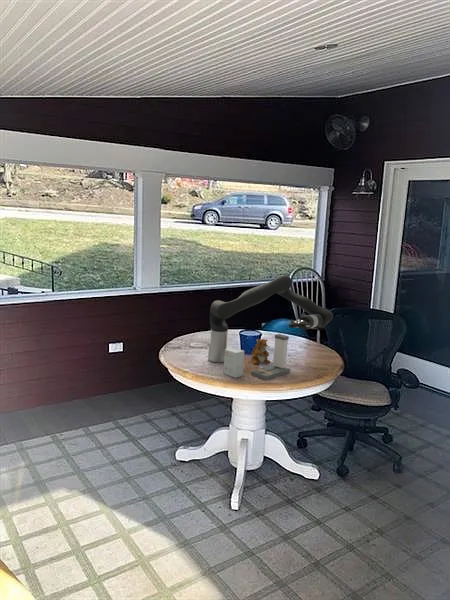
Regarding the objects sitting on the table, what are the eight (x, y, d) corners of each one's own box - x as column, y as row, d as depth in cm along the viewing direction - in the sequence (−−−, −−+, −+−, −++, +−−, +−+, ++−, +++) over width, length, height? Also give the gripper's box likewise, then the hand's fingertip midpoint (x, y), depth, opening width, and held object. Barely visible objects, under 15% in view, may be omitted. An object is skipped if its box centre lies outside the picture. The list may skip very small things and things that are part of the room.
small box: (243, 375, 252) (244, 350, 250) (234, 378, 247) (236, 353, 245) (231, 371, 257) (233, 347, 255) (223, 373, 253) (224, 349, 250)
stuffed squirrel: (254, 365, 270) (256, 341, 268) (246, 357, 284) (248, 335, 281) (271, 364, 273) (273, 341, 271) (262, 356, 286) (264, 334, 284)
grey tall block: (276, 364, 266) (278, 333, 263) (286, 367, 261) (288, 336, 258) (272, 365, 263) (274, 334, 260) (282, 368, 259) (284, 337, 256)
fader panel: (274, 367, 268) (275, 363, 268) (289, 372, 262) (290, 368, 261) (250, 374, 254) (251, 370, 253) (266, 380, 247) (266, 376, 247)
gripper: (299, 313, 280) (280, 316, 267) (319, 317, 271) (301, 321, 258) (298, 325, 281) (279, 330, 269) (318, 330, 272) (300, 335, 260)
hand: (290, 325), depth 264 cm, fingers closed
